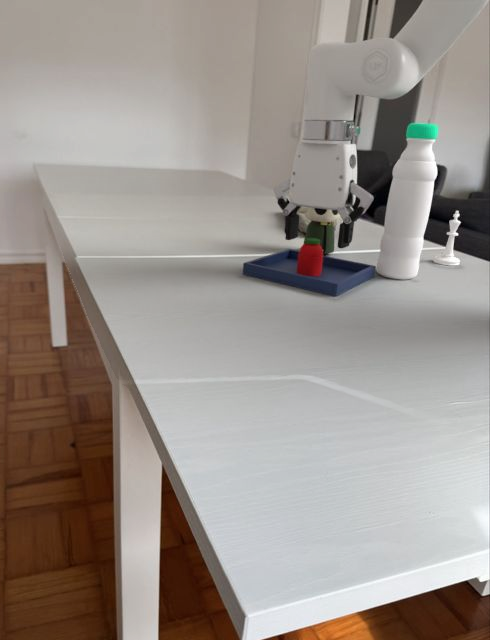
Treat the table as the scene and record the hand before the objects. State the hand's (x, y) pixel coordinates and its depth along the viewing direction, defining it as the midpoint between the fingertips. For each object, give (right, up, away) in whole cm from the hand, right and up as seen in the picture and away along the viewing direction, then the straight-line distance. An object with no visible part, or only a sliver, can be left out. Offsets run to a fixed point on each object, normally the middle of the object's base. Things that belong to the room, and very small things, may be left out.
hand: (316, 242), depth 92 cm
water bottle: (+15, -5, +6) cm, 17 cm away
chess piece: (+29, -1, +16) cm, 33 cm away
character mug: (+4, +1, +19) cm, 20 cm away
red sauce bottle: (-1, -5, +2) cm, 5 cm away
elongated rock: (+6, +14, +47) cm, 50 cm away
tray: (-1, -5, +3) cm, 6 cm away
